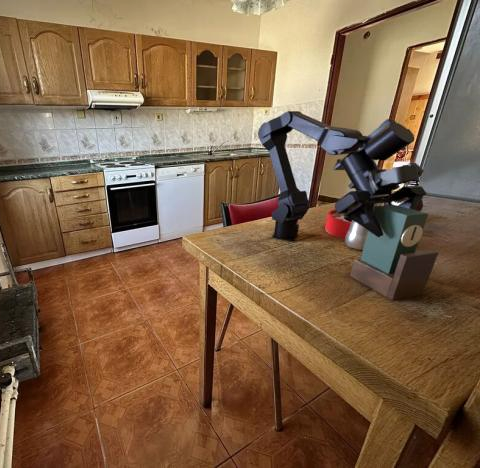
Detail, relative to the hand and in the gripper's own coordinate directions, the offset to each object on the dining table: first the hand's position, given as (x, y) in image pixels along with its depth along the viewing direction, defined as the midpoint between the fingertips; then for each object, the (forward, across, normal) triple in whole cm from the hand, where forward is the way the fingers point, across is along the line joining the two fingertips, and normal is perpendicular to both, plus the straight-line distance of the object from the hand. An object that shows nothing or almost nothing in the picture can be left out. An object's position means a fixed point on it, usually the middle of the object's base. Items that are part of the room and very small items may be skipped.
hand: (398, 233), depth 54 cm
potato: (-16, +50, +34) cm, 62 cm away
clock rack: (+9, 0, +9) cm, 12 cm away
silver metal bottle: (-4, +12, +21) cm, 25 cm away
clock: (+5, 0, +6) cm, 8 cm away
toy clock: (-10, +23, +28) cm, 38 cm away
